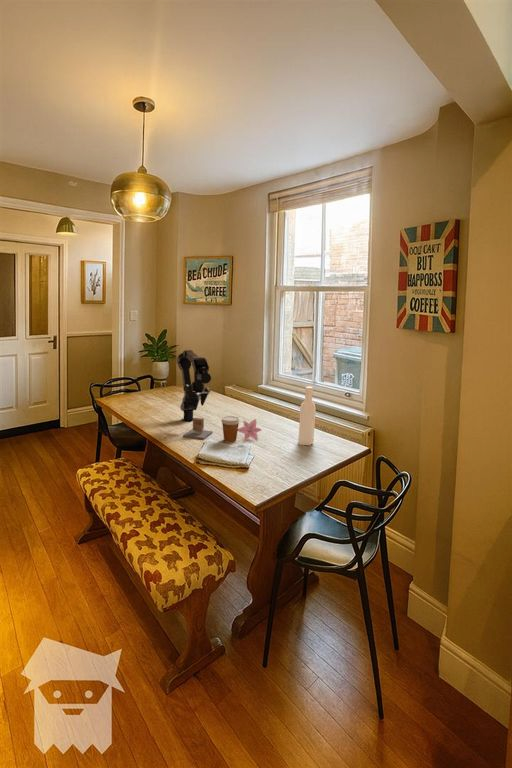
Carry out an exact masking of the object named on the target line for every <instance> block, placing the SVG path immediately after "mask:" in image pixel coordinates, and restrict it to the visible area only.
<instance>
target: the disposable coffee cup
mask: <svg viewBox="0 0 512 768" xmlns="http://www.w3.org/2000/svg"><path fill="white" fill-rule="evenodd" d="M240 422H241V420H240V418H239V417H237V416H234V415H233V416H231V415H227V416H224V417H222V419H221V424H222V433H223V441H224V442H225V443H235V442H236V441H237V437H238V432H239V431H238V429H239V424H240Z"/></svg>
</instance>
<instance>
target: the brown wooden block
mask: <svg viewBox="0 0 512 768" xmlns="http://www.w3.org/2000/svg"><path fill="white" fill-rule="evenodd" d="M193 418H194V419H193V421H192V429H193V433H196V434H203V430H204V429H205V428H204V427H205V423H204V422H205V421H204V420H205V419H204V418H203V417H193Z"/></svg>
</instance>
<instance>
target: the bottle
mask: <svg viewBox="0 0 512 768" xmlns="http://www.w3.org/2000/svg"><path fill="white" fill-rule="evenodd" d="M313 392H314V387H313V386H306V387H305V391H304V393H305V394H304V400H303V401H302V403H301V404H300V408H299V411H300V412H299V423H298V424H299V426H298V438H297V440H298V441H297V442H298V444H299V445H300V446H304V445H310V446H312V445H311V444H313V445H314V440H315V439H314V436H315V435H314V434H315V423H316V410H317V409H316V404H315V402H314V401H313Z"/></svg>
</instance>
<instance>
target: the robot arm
mask: <svg viewBox="0 0 512 768" xmlns="http://www.w3.org/2000/svg"><path fill="white" fill-rule="evenodd" d="M176 363H177V367H178V369H179V370H180V371H181V378H182V385H183V389H182V390H183V397H182V399H181V400H182V402H181V404H180V411H182V412H183V418H181V421H183V422H184V421H185V422H193V419H194V418H195V417H194V411H196V410H197V409H198V406H199V402H200V405H201V406H204V405H205V402H206V400H207V399H208V396H209V394H210V392H211V388H210V387H209V386H205V385H206V384H208V383H210V381H211V380H212V376H211V374H210V373H208V372H209V371H210V366H209V364H208V362H207V359H206V357H205V356H204V357H203V356H198V355H197V354H196V353H195V352H193V350H191V349H188V350H187V349H186V350H185V349H184V350H183V351H182V352H181V353H180V354H178V356H177V357H176ZM191 367H192V368H193V381H192V380H191V373H190V369H191Z"/></svg>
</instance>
